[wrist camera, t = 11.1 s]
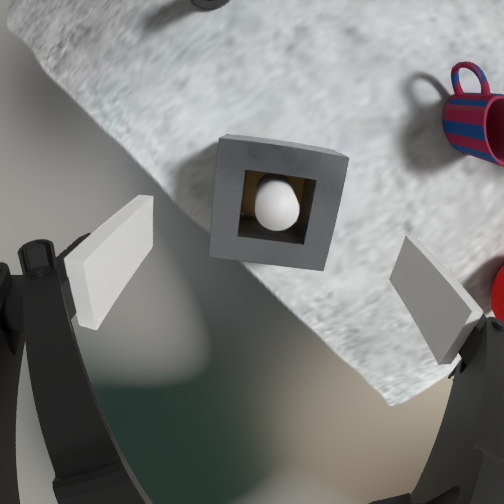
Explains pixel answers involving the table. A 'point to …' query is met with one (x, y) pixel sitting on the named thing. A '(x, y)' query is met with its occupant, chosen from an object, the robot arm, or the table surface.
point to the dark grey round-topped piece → (210, 3)
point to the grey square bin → (310, 212)
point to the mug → (475, 119)
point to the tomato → (498, 295)
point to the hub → (272, 198)
